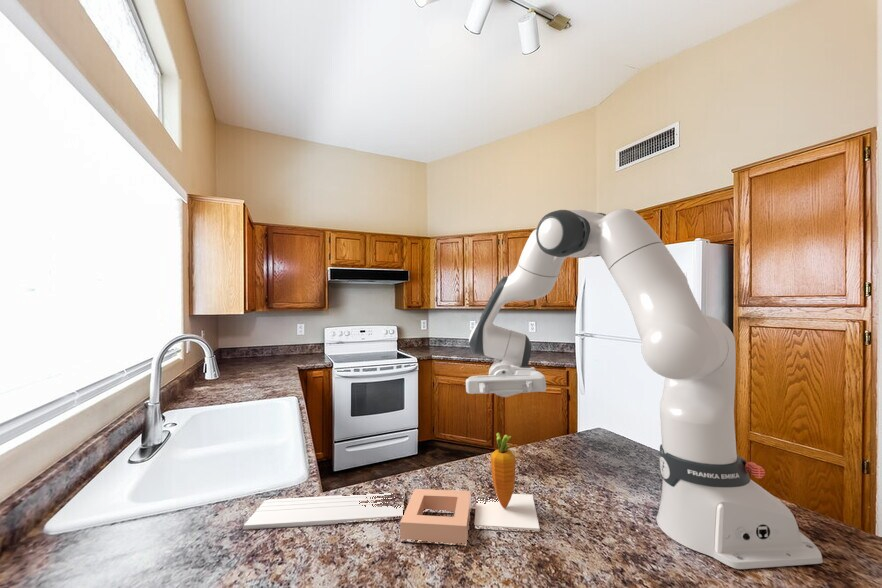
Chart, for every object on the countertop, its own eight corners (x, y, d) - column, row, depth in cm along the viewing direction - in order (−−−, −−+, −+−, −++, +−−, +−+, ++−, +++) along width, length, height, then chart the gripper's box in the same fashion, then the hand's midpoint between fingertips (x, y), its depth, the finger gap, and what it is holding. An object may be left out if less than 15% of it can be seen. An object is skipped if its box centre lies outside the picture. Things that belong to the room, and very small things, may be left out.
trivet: (532, 498, 77) (532, 494, 77) (539, 533, 65) (539, 528, 65) (477, 496, 78) (477, 492, 78) (474, 529, 66) (474, 524, 66)
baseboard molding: (270, 500, 80) (243, 533, 69) (270, 487, 81) (243, 518, 69) (406, 492, 82) (403, 523, 70) (406, 479, 82) (403, 508, 70)
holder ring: (471, 508, 74) (470, 491, 74) (467, 546, 62) (466, 526, 62) (415, 505, 75) (414, 488, 75) (400, 542, 63) (400, 522, 64)
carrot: (492, 500, 75) (489, 428, 75) (515, 502, 74) (513, 429, 75) (492, 514, 70) (490, 437, 70) (517, 515, 69) (515, 437, 70)
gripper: (466, 369, 99) (461, 377, 86) (540, 366, 97) (548, 374, 83) (467, 392, 99) (463, 404, 85) (542, 390, 96) (550, 402, 82)
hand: (506, 389), depth 84 cm, fingers open, 8 cm apart
